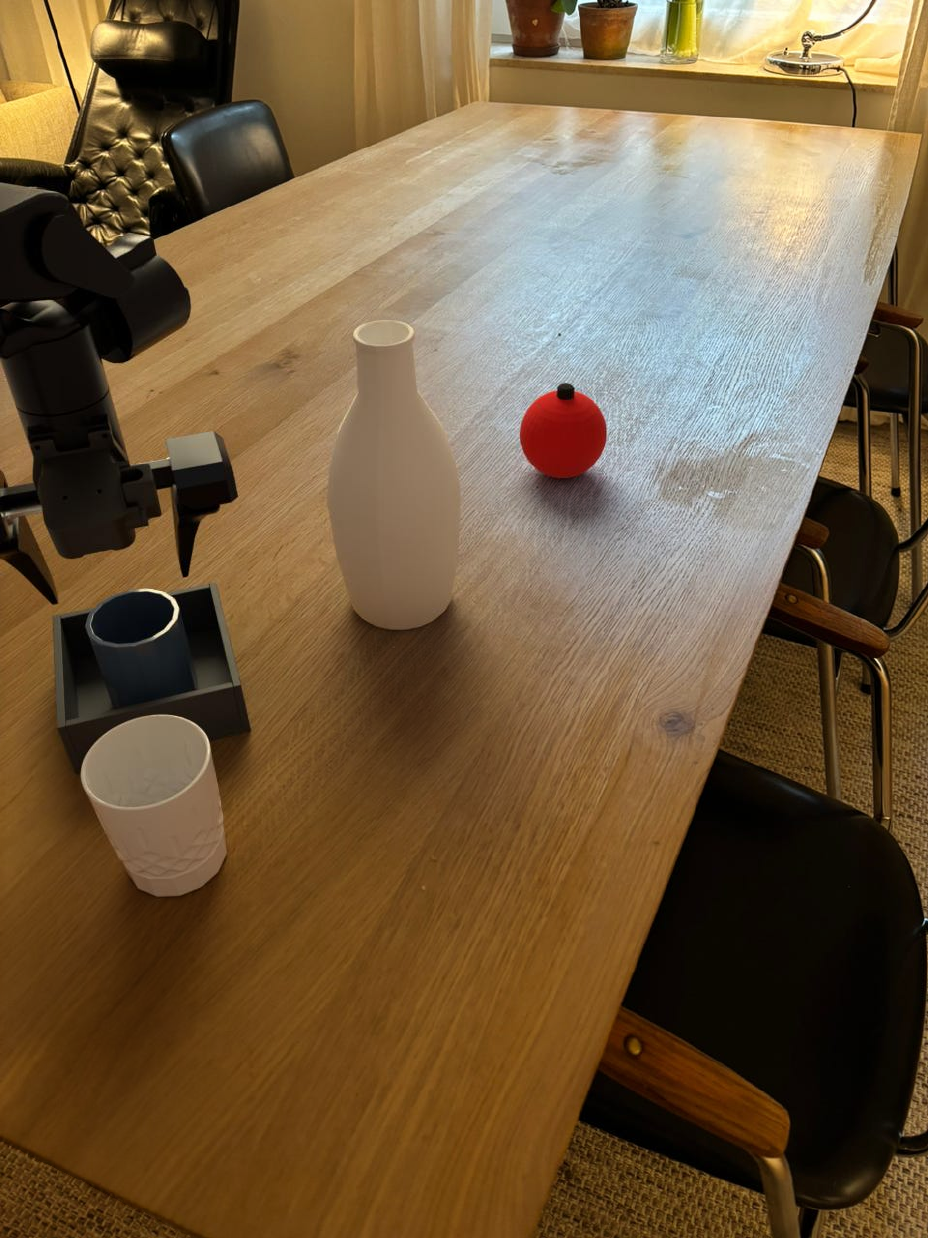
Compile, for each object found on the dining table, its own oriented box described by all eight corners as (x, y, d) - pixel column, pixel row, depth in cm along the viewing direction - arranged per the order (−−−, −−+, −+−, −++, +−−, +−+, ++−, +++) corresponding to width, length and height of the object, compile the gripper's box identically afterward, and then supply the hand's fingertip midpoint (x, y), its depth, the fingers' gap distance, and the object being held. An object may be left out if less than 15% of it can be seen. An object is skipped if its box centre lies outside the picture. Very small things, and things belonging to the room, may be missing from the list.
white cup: (171, 927, 64) (135, 831, 58) (95, 866, 68) (54, 769, 61) (259, 846, 69) (236, 749, 62) (184, 793, 73) (154, 697, 66)
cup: (94, 712, 78) (67, 637, 73) (140, 656, 83) (118, 582, 78) (171, 731, 77) (148, 654, 72) (213, 672, 82) (195, 597, 76)
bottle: (488, 600, 89) (490, 332, 73) (394, 659, 83) (373, 382, 67) (407, 547, 95) (392, 289, 79) (314, 598, 90) (276, 331, 73)
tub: (75, 774, 74) (56, 728, 71) (69, 661, 84) (52, 616, 80) (251, 730, 77) (241, 684, 74) (225, 626, 87) (215, 581, 84)
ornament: (618, 464, 106) (626, 378, 100) (578, 504, 101) (584, 416, 94) (544, 441, 110) (548, 357, 104) (502, 478, 104) (504, 392, 98)
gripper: (-111, 488, 54) (-17, 691, 64) (230, 428, 59) (268, 627, 69) (-94, 396, 62) (-14, 590, 73) (205, 350, 67) (241, 538, 77)
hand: (121, 587), depth 73 cm, fingers open, 9 cm apart
